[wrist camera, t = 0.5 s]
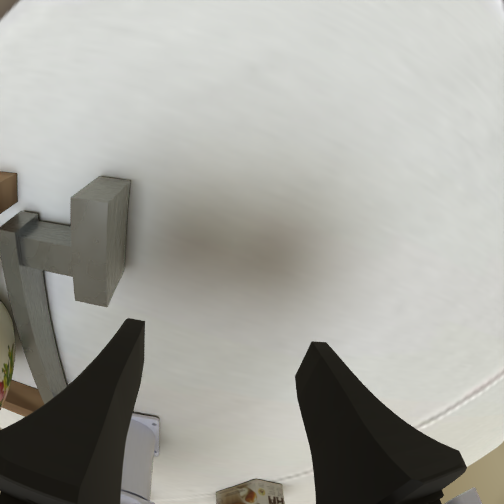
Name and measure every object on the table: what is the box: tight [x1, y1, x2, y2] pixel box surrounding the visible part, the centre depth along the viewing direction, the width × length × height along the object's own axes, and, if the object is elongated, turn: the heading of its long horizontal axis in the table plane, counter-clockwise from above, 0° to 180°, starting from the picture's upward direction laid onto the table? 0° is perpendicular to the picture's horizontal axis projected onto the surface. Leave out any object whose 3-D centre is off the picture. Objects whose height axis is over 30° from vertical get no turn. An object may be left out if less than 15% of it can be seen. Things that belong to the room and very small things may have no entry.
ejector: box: [0, 176, 130, 404], centre depth 19 cm, size 23×8×4 cm, turn 167°
